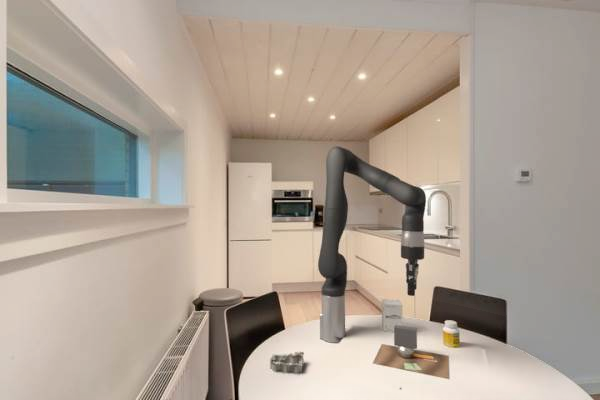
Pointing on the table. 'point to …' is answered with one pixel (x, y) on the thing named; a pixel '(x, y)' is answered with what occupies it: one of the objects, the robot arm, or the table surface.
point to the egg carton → (285, 358)
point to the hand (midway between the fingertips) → (412, 292)
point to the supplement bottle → (451, 334)
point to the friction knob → (407, 342)
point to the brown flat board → (414, 361)
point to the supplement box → (391, 314)
